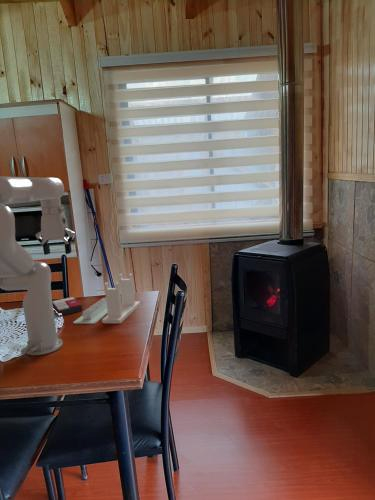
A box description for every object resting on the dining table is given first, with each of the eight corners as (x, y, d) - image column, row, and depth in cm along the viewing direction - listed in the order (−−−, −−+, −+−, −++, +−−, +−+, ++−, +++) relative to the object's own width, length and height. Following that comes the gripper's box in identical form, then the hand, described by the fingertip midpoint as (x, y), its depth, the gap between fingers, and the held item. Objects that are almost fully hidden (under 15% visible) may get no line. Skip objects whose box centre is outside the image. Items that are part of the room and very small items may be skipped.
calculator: (57, 309, 162) (50, 300, 175) (59, 318, 163) (52, 308, 176) (82, 304, 168) (73, 295, 180) (83, 312, 169) (74, 303, 181)
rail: (90, 319, 153) (89, 312, 153) (83, 319, 154) (82, 311, 154) (111, 304, 173) (110, 297, 172) (104, 304, 173) (103, 297, 173)
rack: (120, 323, 148) (116, 285, 146) (102, 323, 150) (97, 286, 147) (140, 304, 171) (137, 271, 169) (124, 304, 173) (121, 271, 170)
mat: (94, 324, 150) (94, 322, 150) (73, 323, 152) (72, 322, 152) (119, 303, 175) (119, 302, 175) (101, 303, 177) (100, 302, 177)
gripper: (76, 209, 145) (81, 251, 148) (38, 212, 149) (44, 252, 152) (66, 211, 138) (72, 255, 141) (27, 213, 142) (33, 256, 145)
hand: (57, 253), depth 147 cm, fingers open, 9 cm apart
